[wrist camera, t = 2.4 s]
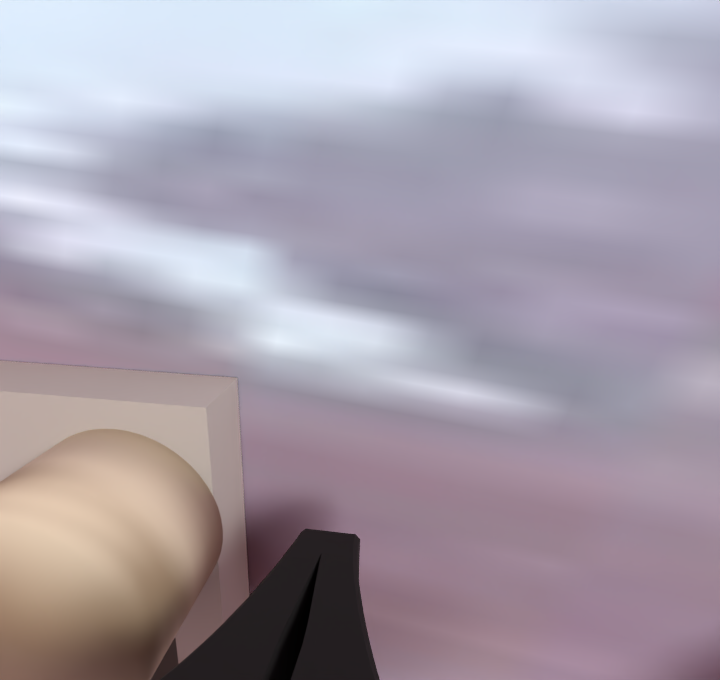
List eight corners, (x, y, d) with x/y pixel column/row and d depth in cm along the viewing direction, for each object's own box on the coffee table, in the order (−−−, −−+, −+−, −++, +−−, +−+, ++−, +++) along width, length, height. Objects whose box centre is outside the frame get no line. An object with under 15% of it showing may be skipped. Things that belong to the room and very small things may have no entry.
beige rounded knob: (228, 611, 13) (162, 749, 10) (51, 587, 14) (-67, 710, 10) (216, 438, 12) (133, 533, 8) (18, 419, 12) (-134, 502, 9)
